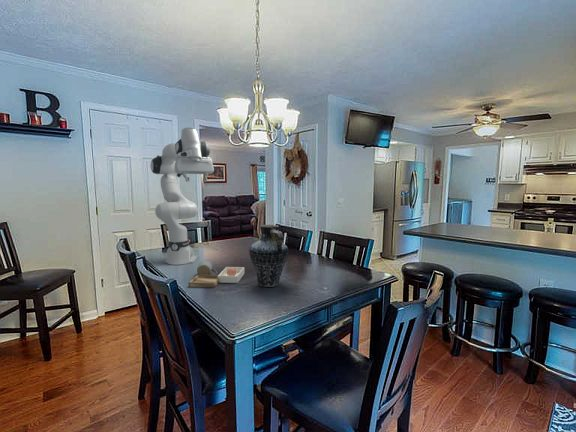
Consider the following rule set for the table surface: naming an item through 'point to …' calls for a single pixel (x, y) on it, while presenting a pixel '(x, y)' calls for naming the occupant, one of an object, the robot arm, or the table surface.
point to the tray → (204, 281)
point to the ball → (231, 272)
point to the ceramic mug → (206, 268)
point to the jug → (269, 256)
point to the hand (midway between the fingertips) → (196, 181)
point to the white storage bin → (231, 279)
